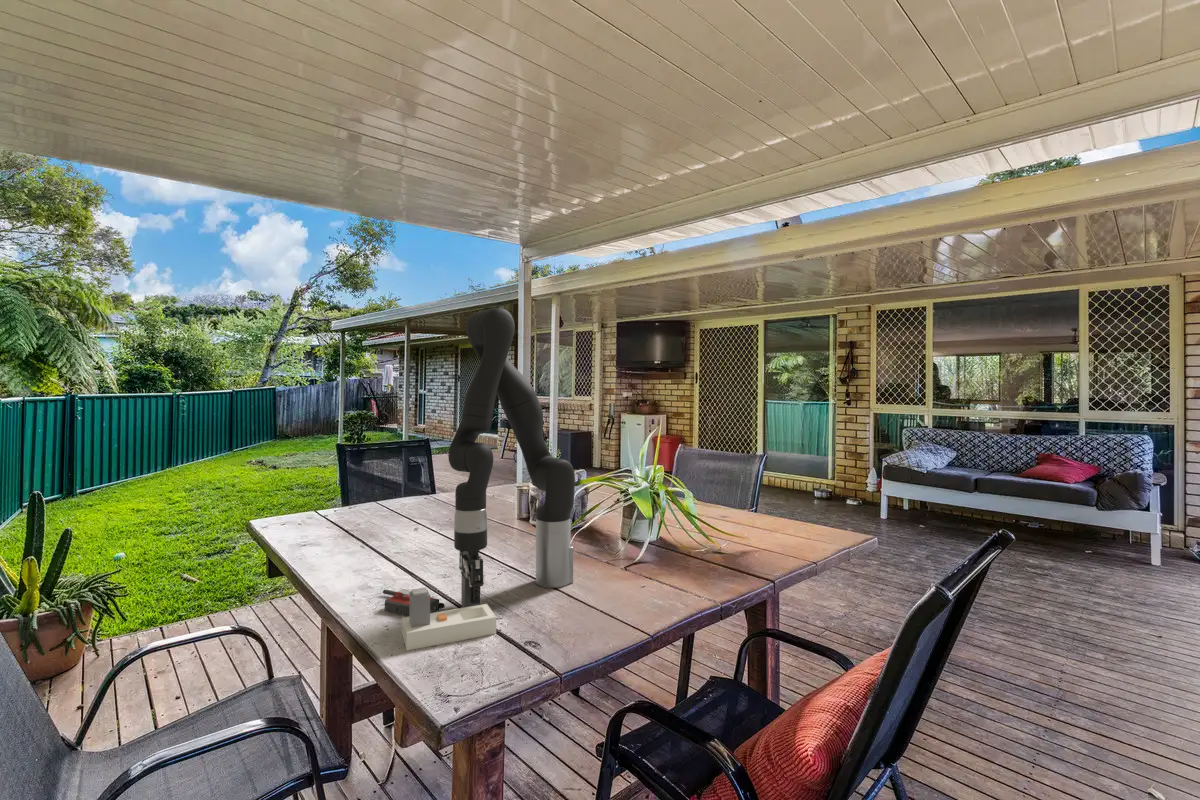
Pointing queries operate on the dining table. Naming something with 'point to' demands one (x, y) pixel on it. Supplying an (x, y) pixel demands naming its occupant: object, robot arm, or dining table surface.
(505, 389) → the robot arm
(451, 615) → the power strip
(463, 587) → the plug
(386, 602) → the walkie-talkie
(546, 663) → the dining table surface
